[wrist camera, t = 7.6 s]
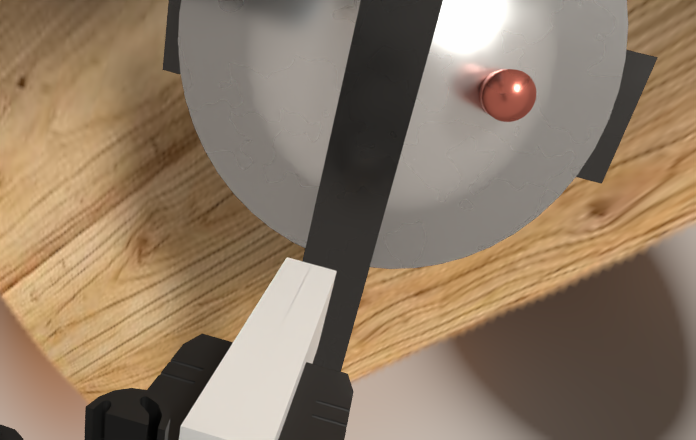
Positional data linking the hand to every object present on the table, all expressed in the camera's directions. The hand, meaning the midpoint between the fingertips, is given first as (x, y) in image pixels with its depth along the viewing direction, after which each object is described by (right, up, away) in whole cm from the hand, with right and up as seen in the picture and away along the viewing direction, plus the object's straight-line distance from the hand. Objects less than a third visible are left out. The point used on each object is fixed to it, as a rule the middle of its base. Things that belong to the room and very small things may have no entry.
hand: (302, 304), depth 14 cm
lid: (+2, +6, +9) cm, 11 cm away
